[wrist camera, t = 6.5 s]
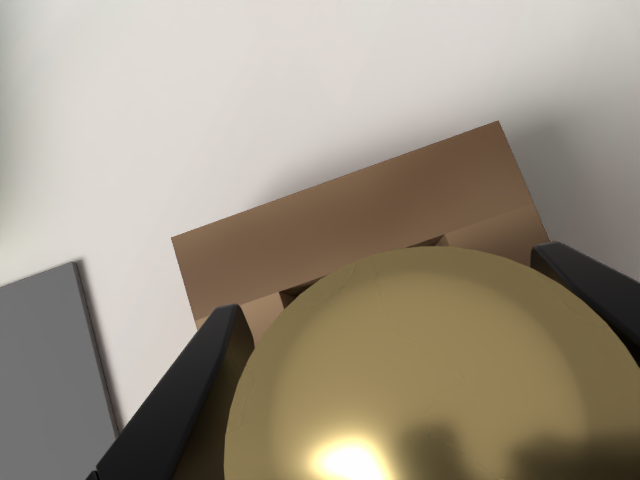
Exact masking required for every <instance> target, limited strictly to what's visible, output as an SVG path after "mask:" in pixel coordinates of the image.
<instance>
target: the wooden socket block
mask: <svg viewBox="0 0 640 480" xmlns="http://www.w3.org/2000/svg"><path fill="white" fill-rule="evenodd" d="M171 240H172V243H173V247H174V250H175V254H176V257H177V261H178V264H179V268H180V271H181V275H182V278H183V282H184V285H185V289H186V292H187V296H188V299H189V303H190V306H191V310H192V313H193V317H194V320H195V324H196V327H197V331H198V330H199V328H200V327H201V326H202V324H203V323H204V322H205V321H206V319H207V318H208V317H209V315H210V314H211V313H212V311H213V310H214V309H215V308H216V307H219V306H223V305H228V304H233V303H236V304H239V306H240V307H241V308H242V311H243V313H244V315H245V318H246V320H247V323H248V325H249V328H250V330H251V332H252V335H253V339H254V345H255V347H256V346H257V344H258V343H259V341H260V339H261V338H262V336H263V334H264V333H265V332H266V331H267V329H268V328H269V327H270V326H271V324H272V323H273V322H274V321H275V319H276V318H277V317H278V316H279V314H280V313H281V312H282V311H283V310H284V309H285V308H286V307H287V306H288V305H290V304H291V303H292V302H293V301H294V300H295V299H296V298H297V297H298V296H299V295H300V294H301V293H303V292H304V291H305V290H307V289H308V288H309V287H311V286H312V285H314V284H315V283H316V282H318V281H319V280H320V279H322V278H324V277H325V276H327V275H329V274H331V273H333V272H334V271H336V270H338V269H340V268H342V267H343V266H345V265H348V264H351V263H353V262H356V261H358V260H361V259H363V258H366V257H368V256H371V255H375V254H380V253H384V252H388V251H392V250H396V249H403V248H412V247H421V246H449V247H458V248H465V249H472V250H479V251H483V252H487V253H490V254H494V255H498V256H501V257H505V258H508V259H511V260H513V261H515V262H518V263H520V264H523V265H525V266H528V267H530V256H531V250H532V247H533V246H535V245H537V244H542V243H547V242H550V241H549V238H548V236H547V233H546V231H545V229H544V226H543V224H542V222H541V219H540V217H539V215H538V212H537V210H536V208H535V205H534V203H533V200H532V198H531V196H530V193H529V191H528V189H527V186H526V184H525V182H524V179H523V177H522V175H521V172H520V170H519V168H518V165H517V163H516V160H515V158H514V156H513V153H512V151H511V149H510V146H509V144H508V142H507V139H506V137H505V135H504V132H503V130H502V127H501V125H500V123H499V120H498V121H496V122H493V123H490V124H487V125H484V126H482V127H479V128H476V129H473V130H470V131H468V132H465V133H462V134H459V135H456V136H454V137H451V138H448V139H445V140H443V141H440V142H437V143H434V144H431V145H429V146H426V147H423V148H420V149H417V150H415V151H412V152H409V153H406V154H403V155H401V156H398V157H395V158H392V159H389V160H387V161H384V162H381V163H378V164H375V165H373V166H370V167H367V168H364V169H361V170H359V171H356V172H353V173H350V174H347V175H345V176H342V177H339V178H336V179H333V180H331V181H328V182H325V183H322V184H320V185H317V186H314V187H311V188H308V189H306V190H303V191H300V192H297V193H294V194H292V195H289V196H286V197H283V198H280V199H278V200H275V201H272V202H269V203H266V204H264V205H261V206H258V207H255V208H252V209H250V210H247V211H244V212H241V213H238V214H236V215H233V216H230V217H227V218H224V219H222V220H219V221H216V222H213V223H210V224H208V225H205V226H202V227H199V228H197V229H194V230H191V231H188V232H185V233H183V234H180V235H177V236H174V237H171Z"/></svg>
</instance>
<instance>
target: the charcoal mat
mask: <svg viewBox="0 0 640 480" xmlns="http://www.w3.org/2000/svg"><path fill="white" fill-rule="evenodd" d="M118 436H119V434H118V430H117V426H116V422H115V418H114V414H113V410H112V406H111V402H110V398H109V394H108V390H107V386H106V382H105V378H104V374H103V370H102V366H101V361H100V357H99V353H98V349H97V345H96V341H95V337H94V333H93V329H92V325H91V321H90V317H89V313H88V309H87V305H86V301H85V297H84V293H83V289H82V285H81V281H80V277H79V273H78V269H77V265H76V263H75V262H70V263H67V264H65V265H62V266H59V267H56V268H53V269H51V270H48V271H45V272H42V273H40V274H37V275H34V276H31V277H28V278H26V279H23V280H20V281H17V282H15V283H12V284H9V285H6V286H3V287H1V288H0V480H85V479H86V478H87V476H88V475H89V474H90V472H91V471H93V470H96V465H97V463H98V462H99V461H100V459H101V458H102V457H103V456H104V454H105V453H106V452H107V450H108V449H109V448H110V446H111V445H112V444H113V442H114V441H115V440H116V438H117V437H118Z"/></svg>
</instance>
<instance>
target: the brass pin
mask: <svg viewBox="0 0 640 480" xmlns="http://www.w3.org/2000/svg"><path fill="white" fill-rule="evenodd" d="M224 476H225V480H640V368H639V367H638V365H637V364H636V362H635V361H634V359H633V357H632V356H631V354H630V353H629V351H628V350H627V348H626V346H625V345H624V344H623V343H622V341H621V340H620V339H619V338H618V337H617V335H616V334H615V333H614V332H613V331H612V329H611V328H610V327H609V326H608V324H607V323H606V322H605V321H604V320H603V319H602V318H601V317H600V316H598V315H597V314H596V313H595V312H594V311H593V310H592V309H591V308H590V307H589V306H588V305H587V304H586V303H585V302H584V301H582V300H581V299H580V298H578V297H577V296H576V295H574V294H573V293H572V292H570V291H569V290H568V289H566V288H565V287H563V286H562V285H561V284H559V283H558V282H556V281H554V280H552V279H550V278H549V277H547V276H545V275H543V274H542V273H540V272H538V271H536V270H535V269H532V268H530V267H528V266H525V265H523V264H520V263H518V262H515V261H513V260H511V259H508V258H505V257H501V256H498V255H494V254H490V253H487V252H483V251H479V250H472V249H465V248H458V247H449V246H421V247H412V248H403V249H396V250H392V251H388V252H384V253H380V254H375V255H371V256H368V257H366V258H363V259H361V260H358V261H356V262H353V263H351V264H348V265H345V266H343V267H342V268H340V269H338V270H336V271H334V272H333V273H331V274H329V275H327V276H325V277H324V278H322V279H320V280H319V281H318V282H316V283H315V284H314V285H312V286H311V287H309V288H308V289H307V290H305V291H304V292H303V293H301V294H300V295H299V296H298V297H297V298H296V299H295V300H294V301H293V302H292V303H291V304H290V305H288V306H287V307H286V308H285V309H284V310H283V311H282V312H281V313H280V314H279V316H278V317H277V318H276V319H275V321H274V322H273V323H272V324H271V326H270V327H269V328H268V329H267V331H266V332H265V333H264V334H263V336H262V338H261V339H260V341H259V343H258V344H257V346H256V347H255V349H254V351H253V352H252V354H251V356H250V357H249V359H248V362H247V364H246V366H245V368H244V371H243V373H242V375H241V377H240V380H239V382H238V385H237V388H236V391H235V395H234V398H233V401H232V404H231V408H230V412H229V418H228V424H227V430H226V435H225V451H224Z"/></svg>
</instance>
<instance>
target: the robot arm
mask: <svg viewBox="0 0 640 480" xmlns="http://www.w3.org/2000/svg"><path fill="white" fill-rule="evenodd" d="M530 268H532V269H535V270H536V271H538V272H540V273H542V274H543V275H545V276H547V277H549V278H550V279H552V280H554V281H556V282H558V283H559V284H561V285H562V286H563V287H565V288H566V289H568V290H569V291H570V292H572V293H573V294H574V295H576V296H577V297H578V298H580V299H581V300H582V301H584V302H585V303H586V304H587V305H588V306H589V307H590V308H591V309H592V310H593V311H594V312H595V313H596V314H597V315H598V316H600V317H601V318H602V319H603V320H604V321H605V322H606V323H607V324H608V326H609V327H610V328H611V329H612V331H613V332H614V333H615V334H616V335H617V337H618V338H619V339H620V340H621V341H622V343H623V344H624V345H625V346H626V348H627V350H628V351H629V353H630V354H631V356H632V357H633V359H634V361H635V362H636V364H637V365H638V367H639V368H640V283H639V282H638V281H636V280H634V279H632V278H630V277H628V276H626V275H624V274H622V273H620V272H618V271H616V270H614V269H612V268H610V267H608V266H606V265H604V264H602V263H600V262H598V261H596V260H594V259H592V258H590V257H588V256H586V255H584V254H582V253H580V252H578V251H576V250H574V249H573V248H571V247H569V246H567V245H565V244H563V243H560V242H557V241H553V242H547V243H542V244H537V245H535V246H533V247H532V250H531V256H530ZM254 349H255V345H254V339H253V335H252V332H251V330H250V328H249V325H248V323H247V320H246V318H245V315H244V313H243V311H242V308H241V307H240V306H239V304H236V303H233V304H228V305H223V306H219V307H216V308H215V309H214V310H213V311H212V313H211V314H210V315H209V317H208V318H207V319H206V321H205V322H204V323H203V324H202V326H201V327H200V328H199V330H198V331H197V332H196V334H195V335H194V336H193V338H192V339H191V340H190V342H189V343H188V344H187V346H186V347H185V348H184V350H183V351H182V352H181V354H180V355H179V356H178V358H177V359H176V360H175V362H174V363H173V364H172V366H171V367H170V368H169V369H168V371H167V372H166V373H165V375H164V376H163V377H162V379H161V380H160V381H159V383H158V384H157V385H156V387H155V388H154V389H153V391H152V392H151V393H150V395H149V396H148V397H147V399H146V400H145V401H144V403H143V404H142V405H141V407H140V408H139V409H138V411H137V412H136V413H135V414H134V416H133V417H132V418H131V420H130V421H129V422H128V424H127V425H126V426H125V428H124V429H123V430H122V432H121V433H120V434H119V436H118V437H117V438H116V440H115V441H114V442H113V444H112V445H111V446H110V448H109V449H108V450H107V452H106V453H105V454H104V456H103V457H102V458H101V459H100V461H99V462H98V463H97V465H96V470H93V471H91V472H90V474H89V475H88V476H87V478H86V479H85V480H225V476H224V451H225V435H226V430H227V424H228V418H229V412H230V408H231V404H232V401H233V398H234V395H235V391H236V388H237V385H238V382H239V380H240V377H241V375H242V373H243V371H244V368H245V366H246V364H247V362H248V359H249V357H250V356H251V354H252V352H253V351H254Z"/></svg>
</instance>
